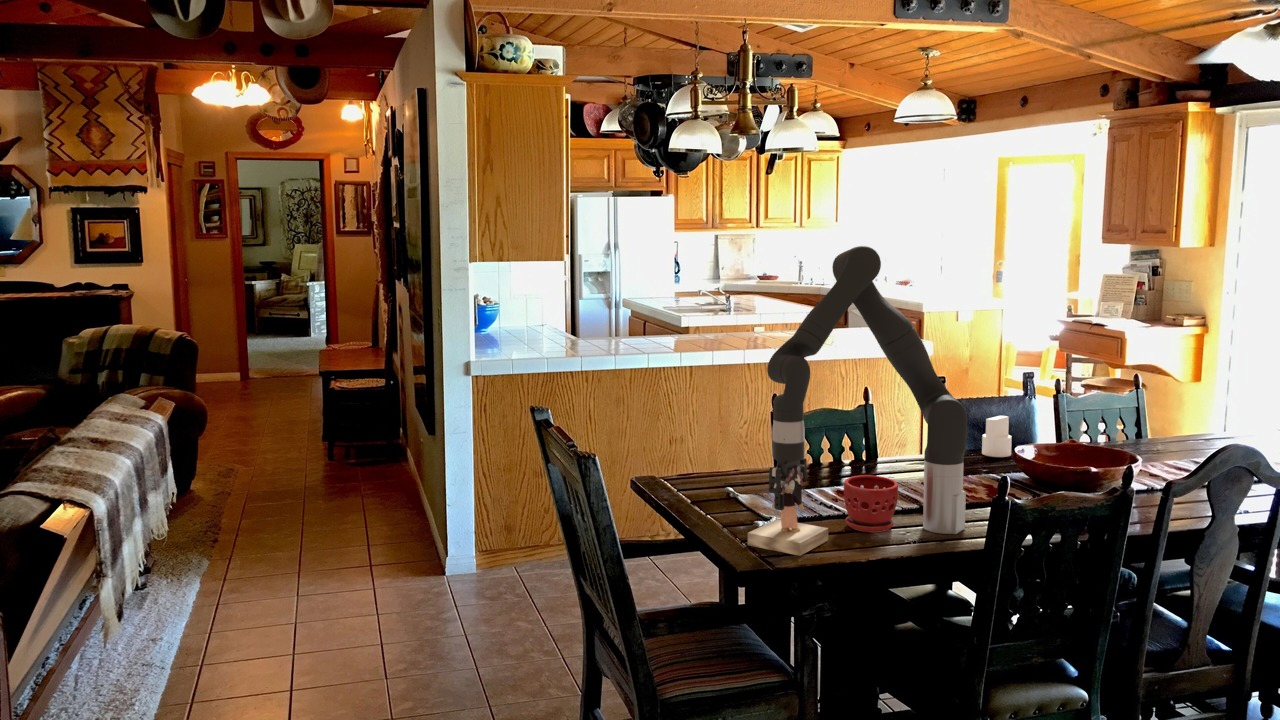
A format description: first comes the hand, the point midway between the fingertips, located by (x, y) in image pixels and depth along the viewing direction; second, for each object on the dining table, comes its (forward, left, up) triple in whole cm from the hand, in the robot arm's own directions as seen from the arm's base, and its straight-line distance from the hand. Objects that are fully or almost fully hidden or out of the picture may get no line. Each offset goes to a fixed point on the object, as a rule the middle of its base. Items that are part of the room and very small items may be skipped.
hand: (788, 505), depth 243 cm
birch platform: (0, 0, -9) cm, 9 cm away
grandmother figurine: (0, 0, -6) cm, 6 cm away
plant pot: (-11, -22, -9) cm, 26 cm away
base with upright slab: (-10, -121, -9) cm, 122 cm away
